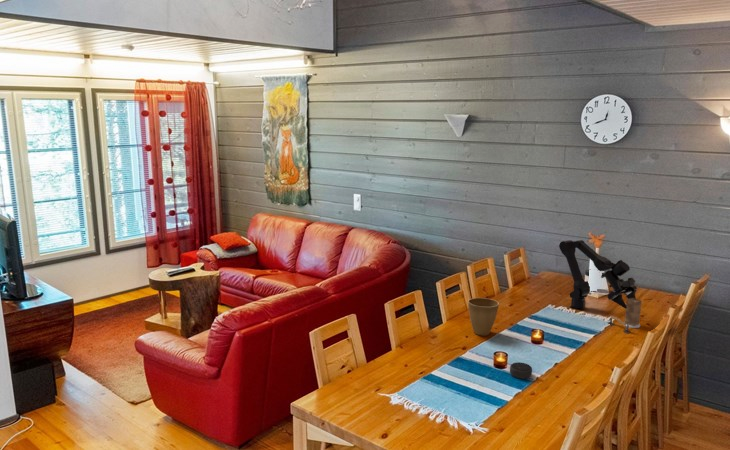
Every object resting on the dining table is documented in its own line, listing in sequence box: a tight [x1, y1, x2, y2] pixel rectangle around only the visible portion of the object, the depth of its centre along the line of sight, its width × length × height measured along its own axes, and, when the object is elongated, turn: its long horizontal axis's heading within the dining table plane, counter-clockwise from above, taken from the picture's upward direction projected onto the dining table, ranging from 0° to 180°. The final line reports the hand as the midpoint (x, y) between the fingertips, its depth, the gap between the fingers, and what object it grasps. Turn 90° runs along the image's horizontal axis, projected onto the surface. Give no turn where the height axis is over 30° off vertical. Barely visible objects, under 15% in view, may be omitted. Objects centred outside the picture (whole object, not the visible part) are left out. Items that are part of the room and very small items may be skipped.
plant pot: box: [467, 297, 500, 336], centre depth 292 cm, size 15×15×16 cm
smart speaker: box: [509, 361, 533, 380], centre depth 246 cm, size 9×9×4 cm
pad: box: [623, 323, 641, 329], centre depth 306 cm, size 8×8×1 cm
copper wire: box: [606, 315, 631, 334], centre depth 302 cm, size 14×3×4 cm, turn 17°
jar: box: [584, 269, 590, 282], centre depth 367 cm, size 9×8×12 cm
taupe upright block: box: [624, 298, 642, 326], centre depth 305 cm, size 5×5×13 cm
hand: (631, 306), depth 305 cm, fingers open, 9 cm apart
